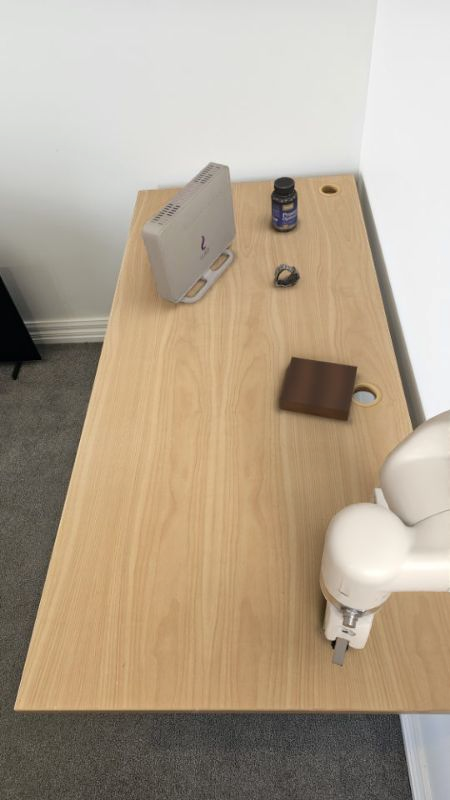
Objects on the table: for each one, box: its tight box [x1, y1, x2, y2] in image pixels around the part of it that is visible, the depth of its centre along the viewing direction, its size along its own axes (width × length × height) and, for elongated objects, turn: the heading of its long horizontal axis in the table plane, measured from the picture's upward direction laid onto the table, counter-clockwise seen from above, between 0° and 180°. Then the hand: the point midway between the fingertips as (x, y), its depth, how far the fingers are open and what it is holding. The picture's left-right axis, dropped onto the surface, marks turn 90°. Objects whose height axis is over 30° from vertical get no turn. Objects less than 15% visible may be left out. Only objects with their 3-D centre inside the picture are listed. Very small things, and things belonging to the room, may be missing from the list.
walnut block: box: [279, 356, 358, 422], centre depth 90 cm, size 12×10×3 cm
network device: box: [141, 161, 237, 304], centre depth 106 cm, size 26×9×20 cm, turn 148°
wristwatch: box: [273, 263, 301, 288], centre depth 107 cm, size 3×5×5 cm
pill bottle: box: [270, 176, 299, 233], centre depth 116 cm, size 6×6×11 cm
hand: (341, 616), depth 68 cm, fingers closed on green cube, 4 cm apart
